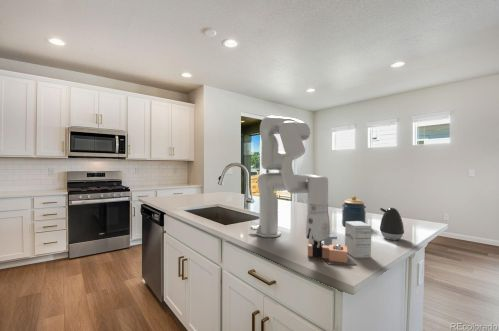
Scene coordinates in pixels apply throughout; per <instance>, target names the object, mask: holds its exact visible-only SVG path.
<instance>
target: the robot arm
mask: <svg viewBox="0 0 499 331" xmlns="http://www.w3.org/2000/svg"><path fill="white" fill-rule="evenodd" d="M259 134H260V139H261V140H260V141H261V158H260V159H261V161H260V162H261V167H262V169H263V170H265V171H278V172H263V173H261V174H260V175H259V176H258V177H257V186H258V187H257V188H258V193H259V200H258V201H259V204H258V205H259V208H258V209H259V217H258V220H259V221H258V222H259V223H258V225H250V230H252V231H256V232H255V234H256V235H257V236H258V237H260V238H261V237H262V238H277V237H280V236H281V235H282V232H281V231H280V230H278V227H279V220H278V219H279V217H278V216H279V199H278V196H277V194H276V193H275V192H279V191H281V192H282V191H284V192H285V191H287V192H288V193H289V194H293V195H294V194H295V195H296V194H307V202H306V203H307V204H306V205H307V206H306V207H307V208H306V209H307V210H306V211H307V216H306V226H305V235H306V239H307V240H308V242H307V243H308V244H312V246H313V257H312V258H316V259H319V260H320V259H323V258H322V246H323V241H324V240H325V239H326V238H328V237H329V236H330V233H331V226H330V215H329V178H328V177H327V176H325V175H315V174H295V172H294V169H293V165H292V164H293V161H295V160H297V159H299V158H301V157H302V156H303V155H305V153H306V149H305V145H304V143H303V141H308V139H309V138H310V136H311V128H310V126H309V124H307V123H306V122H304V121H302V120H299V119H296V118H293V117H284V116H283V117H282V116H278V115H277V116H276V115H269V116H265V117H264V118H263V119H261V121H260V124H259ZM275 135H279V136H280V139H281V144H282V147H283V149H284V151H279V141H278V139H277V137H276V136H275Z"/></svg>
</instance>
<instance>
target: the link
mask: <svg viewBox="0 0 499 331" xmlns="http://www.w3.org/2000/svg"><path fill="white" fill-rule="evenodd" d="M335 245H336V244H332V245H330V246H326V245H323V246H322V258H321V259H324V258H327V259H329V261H337V262H344V263H347V257H348V256H349V253H348V252H347V246H345V245H341V250H337V249H335ZM307 257H312V258H314V257H313V246H312V244H309V243H308V245H307Z"/></svg>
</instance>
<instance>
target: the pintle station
mask: <svg viewBox="0 0 499 331" xmlns="http://www.w3.org/2000/svg"><path fill="white" fill-rule="evenodd" d="M334 245H335V249H337V250H341V246H342V245H341V244H338V243H337V244H336V243H335V244H334ZM323 259H324V260H325V262H326V264H327V265H328V266H330V265H331V266H357V263H356V262H355V261H354V260H353V259H352V258H351V257H350V256H349V255H348V257H347V263H344V262H337V261H329V259H327V258H323Z"/></svg>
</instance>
